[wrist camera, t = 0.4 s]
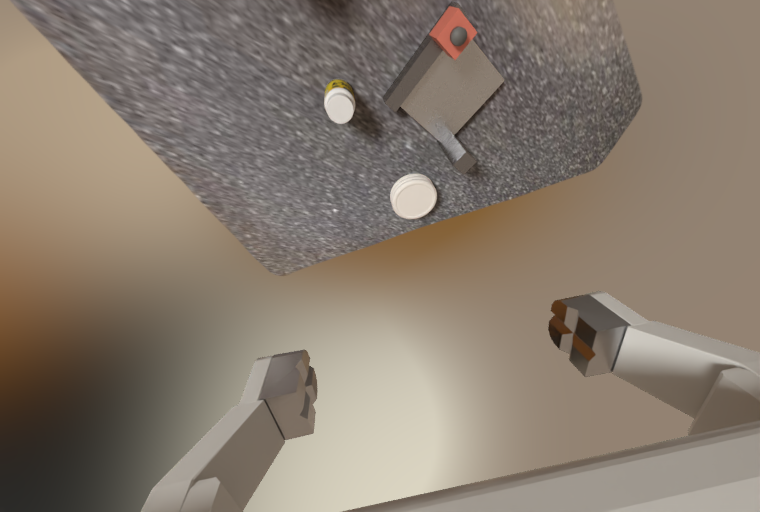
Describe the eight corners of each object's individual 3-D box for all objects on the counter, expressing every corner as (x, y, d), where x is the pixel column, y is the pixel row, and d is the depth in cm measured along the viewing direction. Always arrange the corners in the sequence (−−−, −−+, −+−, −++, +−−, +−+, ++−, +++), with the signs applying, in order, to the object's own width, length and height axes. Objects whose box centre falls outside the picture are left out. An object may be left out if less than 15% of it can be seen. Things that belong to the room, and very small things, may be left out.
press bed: (451, 1, 42) (476, 7, 35) (511, 80, 51) (542, 98, 43) (382, 97, 50) (391, 118, 43) (445, 152, 58) (461, 176, 51)
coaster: (390, 174, 60) (392, 182, 58) (436, 170, 61) (440, 178, 59) (389, 213, 67) (391, 222, 65) (430, 209, 68) (434, 218, 66)
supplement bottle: (356, 83, 48) (360, 99, 42) (348, 112, 51) (351, 130, 45) (328, 73, 46) (328, 87, 40) (321, 103, 49) (321, 120, 43)
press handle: (449, 5, 40) (461, 9, 36) (467, 28, 42) (480, 33, 38) (429, 34, 42) (438, 40, 38) (446, 54, 44) (457, 62, 40)
